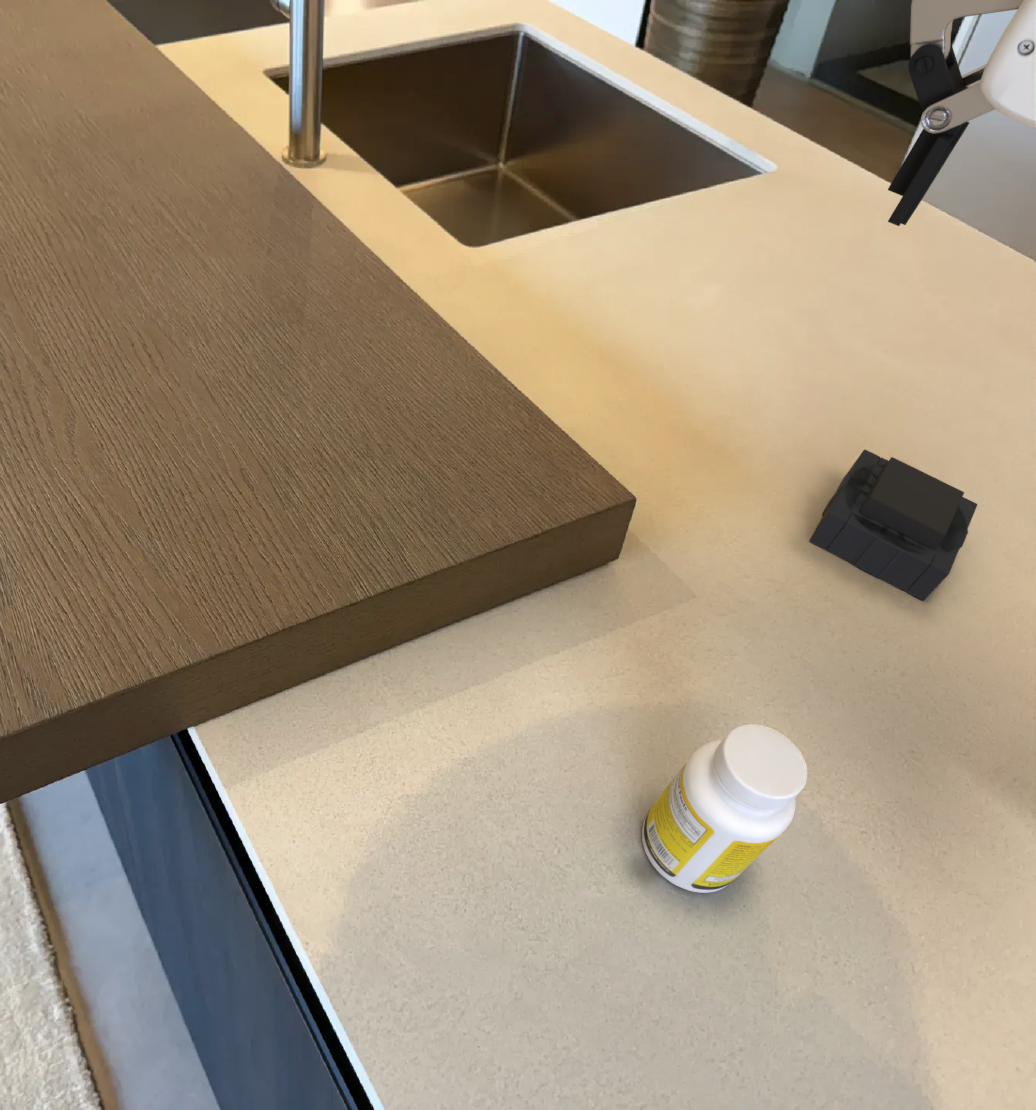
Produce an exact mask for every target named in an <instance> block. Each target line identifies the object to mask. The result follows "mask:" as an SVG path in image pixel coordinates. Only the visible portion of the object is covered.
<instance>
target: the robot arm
mask: <svg viewBox="0 0 1036 1110" xmlns="http://www.w3.org/2000/svg"><path fill="white" fill-rule="evenodd" d="M1015 10H1016V11H1015ZM1009 11H1015V13H1014V14H1013V16H1012V18H1011V19H1010V21H1009V22H1008V24H1007V26H1006V28H1005V29H1004V30H1003V32H1002V34H1001V36H1000V38H999V39H998V41H997V43H996V44H995V47H994V49H993V51H992V52H991V54H990V56H989V58H988V60H987V62H986V63H985V64H984V65H981V66H980V67H977V68H976V69H973V70H971V71H969V72H966V73H965V74H962V72H961V70H960V66H959V63H958V60H957V57H956V54H955V53H956V52H955V50H954V47H953V43H952V41H951V37H952V31H953V22H954V20H957V19H959V18H967V17H973V16H981V15H989V14H995V13H1001V12H1002V13H1003V12H1009ZM909 32H910V33H909V46H910V58H909V60H908V64H907V69H908V73H909V76H910V79H911V82H912V85H913V88H914V92H915V94H916V97H917V100H918V103H919V106H920V109H921V112H922V115H921V117H920V123H921V127H922V130H921V132H920V133H919V135H918V137H917V139H915V142H914V144H913V145H912V147H911V149H910V151H909V152H908V154H907V155H906V158H905V159H904V161H903V163H902V164H901V166H900V168H899V169H898V170H897V173H896V174H895V176H894V178H893V179H892V181H891V183H890V185H889V186H888V188H887V191H889V192H892V193H894V194H896V195H898V196H900V197H901V196H902V197H901V199H900V200H899V201H898V203H897V205H896V206H895V208H894V210H893V212H892V213H891V215H890V217H889V218H888V220H887V223H890V224H892V225H895V226H897V227H900V225H904V226H906V225H907V223H908V222H909V220H910V219H911V218H912V216H913V214H914V213H915V212H916V210H917V208H918V206H919V205H920V204H921V202H922V201H923V198H924V197H925V196H926V194H927V193H928V191H929V189H930V187H931V186H932V184H933V183H934V181H935V179H936V178H937V176H938V175H939V173H940V171H941V170H942V168H943V167H944V165H945V164H946V162H947V160H948V159H949V157H950V155H951V154H952V152H953V150H954V149H955V147H956V146H957V144H958V142H959V141H960V139H961V138H962V136H963V134H964V133H965V132H966V129H967V128H968V126H969V125H970V121H972V120H974V119H977V118H978V117H981V116H983V115H986V114H988V113H990V112H993V111H995V110H996V111H998V112H999V113H1000V114H1002V115H1004V116H1005V117H1007V118H1010V119H1012V120H1014V121H1016V122H1019V123H1021V124H1024V125H1026V126H1029V127H1032V128H1035V129H1036V0H911V4H910V29H909Z"/></svg>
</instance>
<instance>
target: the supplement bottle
mask: <svg viewBox="0 0 1036 1110" xmlns="http://www.w3.org/2000/svg"><path fill="white" fill-rule="evenodd" d="M796 745H797V744H795V743H794V742H793V741H792V740H791V739H790V738H789V737H787V736H786V735H784V734H783V733H782V732H780V731H778V730H776V729H774V728H772V727H769V726H766V725H763V724H759V723H758V724H757V723H747V724H742V725H739V726H737V727H734V728H733V729H731V730H730V731H729V732H728V734H726V736H725V737H724V738H723V739H717V740H712V741H709V742H707V743H705V744H703V745H702V746H700V747H698V748H697V749H696V750H695V751H694V752H693V753H692V755H690V756H689V757H688V759H687V760H686V762H685V763H684V764H683V766H682V767H681V768H680V770H679V771H678V772H677V774H676V775H675V776H674V777H673V778H672V780H671V781H670V783H669V784H668V785H667V786H666V788H665V789H664V790H663V791H662V793H661V794H660V796H659V797H658V798H657V800H656V801H655V802H654V804H653V805H652V806H651V808H649V810H648V812H647V814H646V816H645V817H644V820H643V824H642V830H641V839H642V840H641V841H642V845H643V849H644V852H645V854H646V857H647V858H648V860H649V862H650V863H651V865H652V866H653V867H654V868H655V870H656V871H657V872H658V873H659V874H660V875H661V876H662V877H663V878H664V879H665V880H667V881H668V882H670V883H671V884H672V885H675V886H676V887H679V888H681V889H683V890H685V891H689V892H694V893H699V894H700V893H702V894H703V893H704V894H705V893H714V892H717V891H720V890H723V889H724V888H726V887H728V886H729V885H730V884H731V883H733V882H734V881H735V880H736V879H737V878H738V877H739V876H740V875H741V874H742V873H743V872H744V871H745V870H746V869H747V868H748V867H749V866H750V865H751V864H752V863H753V862H754V861H755V860H756V859H757V858H758V857H759V856H760V855H761V854H762V853H763V852H764V851H766V849H767V848H769V846H770V845H772V843H773V842H775V841H776V840H777V839H778V838H779V837H780V836H781V835H782V834H783V833H784V832H785V831H786V829H788V827H789V826H790V824H791V823H792V821H793V818H794V816H795V810H796V805H797V803H796V797H797V796H798V795H799V794H800V793H801V791H803V790H804V787H805V785H806V783H807V780H808V766H807V763H806V760H805V758H804V756H803V753H802V752H801V750H800V749H799V748H798V746H796Z"/></svg>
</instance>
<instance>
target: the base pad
mask: <svg viewBox="0 0 1036 1110" xmlns="http://www.w3.org/2000/svg"><path fill="white" fill-rule="evenodd" d="M888 461H889V459H886V458H884V457H881V456H879V455H878V454H876V453H874V452H871V451H870V450H867V449H863V450H862V452H861V453H860V454H859V456H858V457H857V459H856V460H855V461H854V462H853V464H852V466H851V467H850V468H849V470H848V471H847V472H846V474H845V475H844V477H843V478H842V480H841V482H840V484H839V486H838V487H837V489H836V491H835V492H834V494H833V495H832V496H831V498H830V499H829V500H828V503H827V505H826V506H825V508H824V509H823V512H822V514H821V515H822V517H821V519H820V520H819V522H818V524H817V526H816V527H815V528H814V531H813V533H812V535H811V537H810V538H809V542H810V543H812V544H814V545H816V546H818V547H820V548H821V549H823V550H826V551H827V552H829V553H831V554H833V555H835V556H837V557H839V558H841V559H842V560H845V561H846V562H848V563H850V564H851V565H852V566H854V567H856V568H858V569H860V570H861V571H863V572H865V573H867V574H869V575H871V576H873V577H875V578H877V579H880V580H882V581H885V582H886V583H888V584H890V585H892V586H894V587H896V588H898V589H900V590H902V591H904V592H906V593H908V594H909V595H911V596H913V597H914V598H917V599H919V600H921V601H922V602H924V601H925V600H927V598H928V597H929V596H930V595H931V594H932V593H933V592H934V591H935V590H936V588H938V587H939V585H940V584H941V583H942V582H943V581H944V580H945V579H946V578H947V577H948V576H949V575H950V573H951V570H952V568H953V565H954V563H955V560H956V558H957V556H958V553H959V550H960V549H962V548H963V546H964V543H965V541H966V539H967V537H968V534H969V526H970V524H971V522H972V519H973V517H974V514H975V512H976V509H977V508H978V503H976V502H974V501H972V500H971V499H968V498H966V497H964V496H963V497H962V499H961V501H960V504H959V506H958V508H957V510H956V513H955V515H954V517H953V519H952V522H951V524H950V526H949V528H948V531H947V533H946V535H945V536H944V537H943V539H942V540H941V541H940V542H939V543H938V544H937V545H936V546H935V548H934V549H931V548H929V547H927V546H925V545H923V544H921V543H919V542H917V541H915V540H913V539H912V538H910V537H908V536H906V535H904V534H902V533H900V532H898V531H896V530H894V529H892V528H890V527H888V526H886V525H884V524H882V523H880V522H878V521H876V520H874V519H872V518H870V517H869V516H867V515H865V514H863V513H861V512H859V511H860V509H861V507H862V505H863V503H864V501H865V500H866V498H867V496H868V494H869V492H870V490H871V488H872V486H873V485H874V483H875V481H876V479H877V477H878V475H879V473H880V471H881V470H882V469H883V467H884V466H885V465H886V463H887V462H888Z"/></svg>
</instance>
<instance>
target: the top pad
mask: <svg viewBox="0 0 1036 1110" xmlns="http://www.w3.org/2000/svg"><path fill="white" fill-rule="evenodd" d="M964 494H965V492H964V491H963V490H961V489H959V488H957V487H954V486H952V485H950V484H949V483H947V482H944V481H942V480H941V479H938V478H936V477H935V476H932V475H930V474H928V473H926V472H925V471H922V470H920V469H918V468H916V467H914V466H912V465H909V463H906V462H904V461H901V460H900V459H897V458H895V457H893V456H891V457H890V459H888V462H887V463H886V465H885V466H884V467H883V469H882V470H881V471H880V473H879V475H878V477H877V479H876V481H875V483H874V485H873V486H872V488H871V490H870V492H869V494H868V496H867V498H866V500H865V501H864V503H863V505H862V507H861V509H860V511H859V512H861V513H863V514H865V515H867V516H869V517H870V518H872V519H874V520H876V521H878V522H880V523H882V524H884V525H886V526H888V527H890V528H892V529H894V530H896V531H898V532H900V533H902V534H904V535H906V536H908V537H910V538H912V539H913V540H915V541H917V542H919V543H921V544H923V545H925V546H927V547H929V548H931V549H934V548H935V546H936V545H937V544H938V543H939V542H940V541H941V540H942V539H943V537H944V536H945V535H946V533H947V531H948V528H949V526H950V524H951V522H952V519H953V517H954V515H955V513H956V510H957V508H958V506H959V504H960V501H961V499H962V497H964Z"/></svg>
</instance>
